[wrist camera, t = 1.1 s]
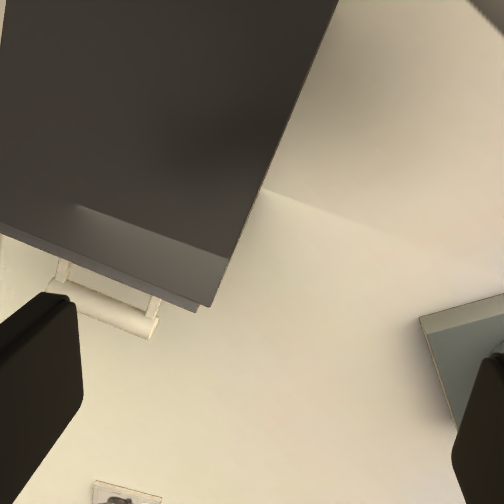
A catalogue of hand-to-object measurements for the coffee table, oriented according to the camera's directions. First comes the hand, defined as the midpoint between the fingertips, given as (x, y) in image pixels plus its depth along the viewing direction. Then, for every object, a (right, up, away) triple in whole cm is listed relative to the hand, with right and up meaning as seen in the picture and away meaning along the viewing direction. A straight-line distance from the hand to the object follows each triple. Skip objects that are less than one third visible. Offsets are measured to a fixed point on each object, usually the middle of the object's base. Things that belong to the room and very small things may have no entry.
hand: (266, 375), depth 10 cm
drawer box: (-4, +13, +18) cm, 22 cm away
